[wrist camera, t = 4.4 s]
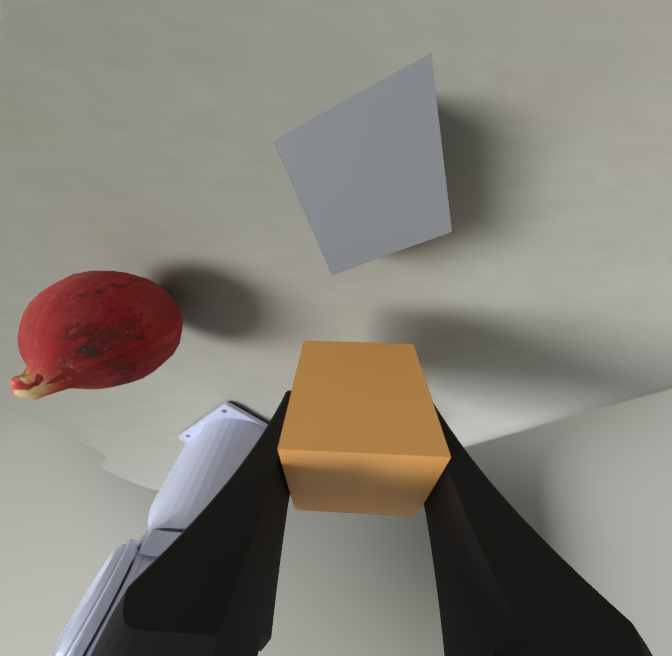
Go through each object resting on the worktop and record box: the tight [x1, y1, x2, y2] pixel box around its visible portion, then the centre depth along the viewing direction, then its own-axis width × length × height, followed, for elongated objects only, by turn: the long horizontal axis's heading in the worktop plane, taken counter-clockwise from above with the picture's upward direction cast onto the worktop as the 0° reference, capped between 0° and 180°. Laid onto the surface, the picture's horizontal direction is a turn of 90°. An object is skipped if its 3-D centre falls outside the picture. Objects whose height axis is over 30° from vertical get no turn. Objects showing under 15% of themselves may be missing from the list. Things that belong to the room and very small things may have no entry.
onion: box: [9, 271, 183, 400], centre depth 12 cm, size 6×6×8 cm
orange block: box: [278, 341, 451, 517], centre depth 10 cm, size 5×5×5 cm
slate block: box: [274, 53, 452, 275], centre depth 9 cm, size 4×4×4 cm
